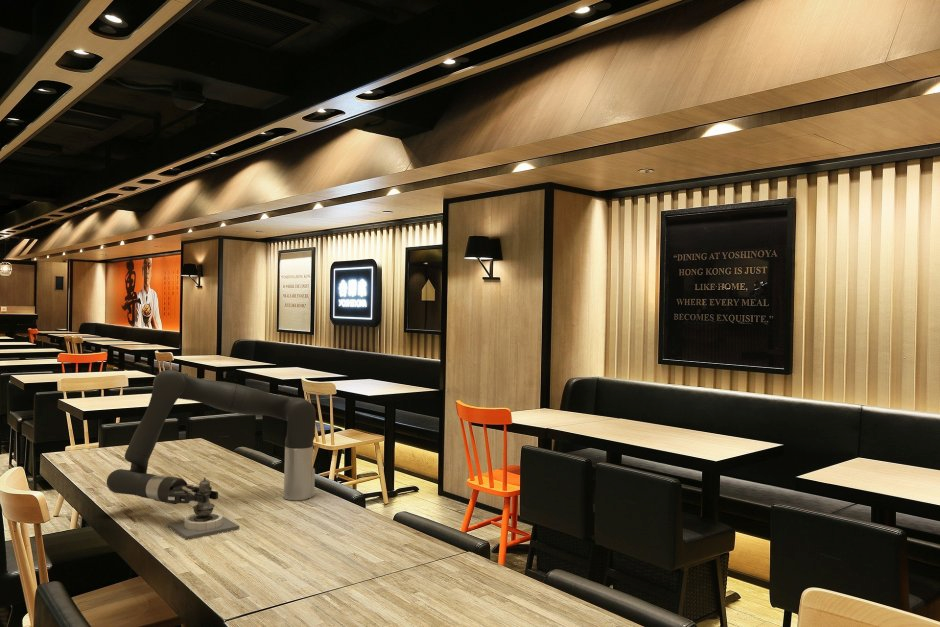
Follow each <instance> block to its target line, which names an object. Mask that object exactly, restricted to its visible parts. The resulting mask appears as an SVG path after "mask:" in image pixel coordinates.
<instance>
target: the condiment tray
mask: <svg viewBox="0 0 940 627" xmlns="http://www.w3.org/2000/svg"><path fill="white" fill-rule="evenodd" d="M210 515H211V516H212V517H213V519H212V520H209V521H204V522H198V521H194V520H193V519H194V518H195V517H196V516H198V515H196V514H195V513H193V514H191V515H188V516H186V517H185V519H184V520H181V521H175V522H171V523H170V522H169V523H168V524H167V527H168V528H169V529H170V528H171V529H172V532H174V531H175V532H174V533H176V535H178V534H179V536H180V537H181V536H182V537H181V538H183V539H184V538H185V539H184V540H186V541H187V540H188V539H189V540H194V539H198V538H203V536H204V537H208V536H212V535H217V534H218V533H219V534H223V533H227V531H228V532H232V531H231V530H233V531H237V529H238V530H240V525H239V524H237V523H235V522H234V521H232V520H230V519H229V518H227V517H225V516H224V515H222V514H221V513H217V512H212V513H211V514H210ZM171 529H170V530H171ZM222 532H223V533H222ZM193 538H194V539H193ZM189 540H188V541H189Z"/></svg>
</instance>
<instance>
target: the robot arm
mask: <svg viewBox="0 0 940 627" xmlns="http://www.w3.org/2000/svg"><path fill="white" fill-rule="evenodd" d="M152 388H153V389H152V392H151V396H150V399H149V403H148V406H147V408H146V410H145V412H144V415H143V417H142V418H141V420H140V422H139V423H138V426H137V428H136V429H135V431H134V432H133V435H132V437H131V440H130V441H129V444H128V446H127V448H126V450H125V453H124V459H125V461H126V462H128V463H130V469H122V468H119V469H115V470H112V472H110V473H109V474H108V476H107V477H106V478H107V479H106V486H107V488H108V490H109V491H110V492H112V493H114V494H121V495H129V496H135V497H136V496H137V497H139V498H145V499H150V500H152V501H156V502H161V503H165V504H170V505H171V504H172V505H178V504H189V503H195V502H196V503H198V502H201V503H207V502H208V496H207V495H205V494H199V493H198V492H199V485H194V484H188V482H187V481H186V480H185V479H184V478H182V477H176V476H171V475H166V474H165V475H161V474H153V473H147V472H148V466H149V460H150V458H151V456H152V454H153V451H154V450H155V447H156V445H157V442H158V439H159V436H160V435H161V431H162V429H163V427H164V424H165V422H166V421H167V420H166V419H167V417H168V415H169V414H170V412H171V410H172V408H173V407H174V405H175V404H176V403H177V400H186V401H192V402H198V403H201V404H203V405H206V406H208V407H212V408H214V409H217V410H221V411H225V412H229V413H234V414H239V415H245V416H247V415H248V416H267V417H272V418H276V419H280V420H283V421H286V422H287V428H286V437H285V440H284V469H283V470H284V473H283V474H284V477H283V479H284V480H283V499H285V500H288V501H304V500H308V498H309V499H311V498H312V497H313V498H314V497H315V486H316V484H315V482H316V481H315V480H316V479H315V478H316V475H315V474H316V469H315V467H314V466H313V464H314V461H313V460H314V459H313V458H314V440H315V436H316V419H317V415H316V414H317V413H316V408H315V406H314V404H312V402H310V401H309V400H307V399H306V398H303V397H295V396H285V395H277V394H273V393H269V392H267V391H264V390H261V389H258V388H253V387H250V386H246V385H242V384H238V383H233V382H227V381H219V380H210V379H205V378H204V379H203V378H199V377H195V376H193V375H189V374H186V373H182V372H179V371H178V370H175V369H164V370H161V371H160V372H158V373H157V374H156V375H155V377H154V379H153V382H152ZM212 489H213V487H212V486H210V492H211V494H210V500H215V501H216V500H218V499H219V492H218V491H216V490H212Z"/></svg>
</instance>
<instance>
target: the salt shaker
mask: <svg viewBox="0 0 940 627" xmlns="http://www.w3.org/2000/svg"><path fill="white" fill-rule="evenodd" d="M198 486H199V492H198V493H199V494H205V495H207V496H208V502H207V503H201V502H196V504H193V506H192V509H193V513H194V514H196V515H198V516H196V517H195V518H194V519H193V520H194V521H198V522H204V521H209V520H212V519H213V517H212V516H211V515H210V514H211V513H213V511H214V508H215V504H214V503H211V499H210V494H211V492H210V487H211V482H210V481H209V480H208V479H207V478H206V476H204V477H203V480H200V482H199V484H198Z"/></svg>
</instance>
